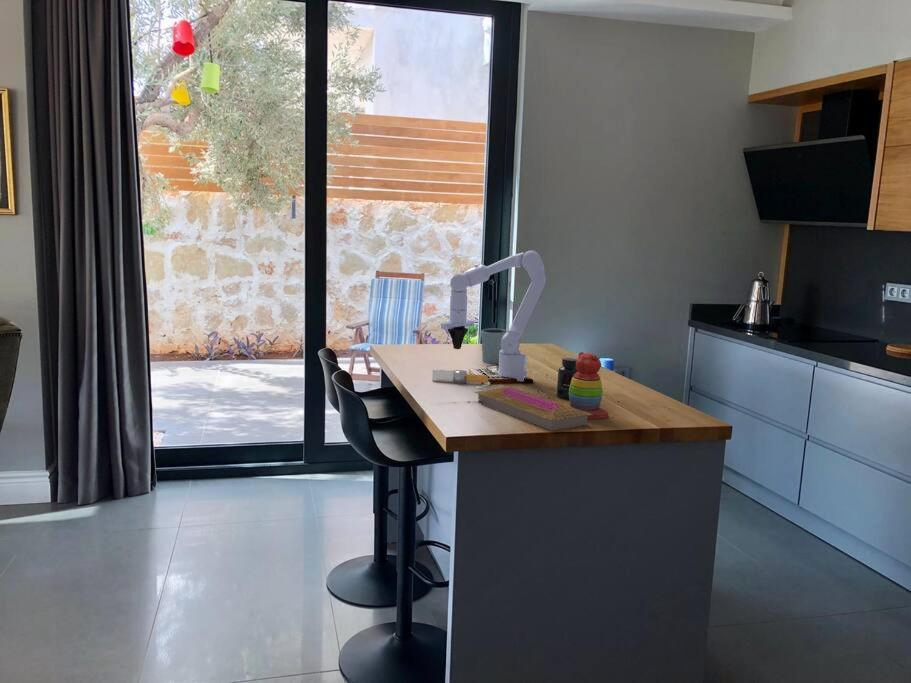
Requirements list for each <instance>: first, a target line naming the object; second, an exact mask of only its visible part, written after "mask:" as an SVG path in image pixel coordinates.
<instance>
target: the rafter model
mask: <svg viewBox="0 0 911 683" xmlns="http://www.w3.org/2000/svg"><path fill="white" fill-rule="evenodd" d="M474 394H477V395H478V396H477V397H478V400H477V403H478V404H480V403H481V405H484V406H485V407H489V408H491V409H493V408H494V410H496V409H497V411H498V410H500V411H499V412H501V411H502V412H501V413H504V412H505V414H506V413H507V414H506V415H509V414H510V415H509V416H511V415H512V416H511V417H514V416H515V418H517V417H518V418H517V419H519V418H520V419H519V420H522V419H523V420H522V421H524V420H525V422H527V421H528V422H527V423H530V422H531V423H530V424H532V423H533V425H535V424H536V425H535V426H537V425H538V427H540V426H541V427H540V428H542V427H544V428H543V429H545V428H546V430H548V429H549V430H548V431H550V430H553V431H558V430H557V429H559V430H563V428H565V429H571V428H575V427H576V426H578V427H583V426H582V425H584V426H587V425H588V419H587V417H588V415H592V414H590V413H588V414H587V412H584V411H582V412H583V413H582V412H581V410H578V409H575V408H572V407H571V406H570V405H566V404H563V403H561V402H557V401H554V400H551V399H548V398H545V397H542V396H540V395H537V394H534V393H533V394H532V393H530V392H527V391H524V390H522V389H519V388H516V387H512V386H510V385H508V386H503V387H502V386H501V387H497V388H491V389H490V388H489V389H485V390H480V391H479V390H478V391H474ZM571 408H572V409H571ZM575 410H578V411H579V412H578V411H575ZM570 427H571V428H570Z"/></svg>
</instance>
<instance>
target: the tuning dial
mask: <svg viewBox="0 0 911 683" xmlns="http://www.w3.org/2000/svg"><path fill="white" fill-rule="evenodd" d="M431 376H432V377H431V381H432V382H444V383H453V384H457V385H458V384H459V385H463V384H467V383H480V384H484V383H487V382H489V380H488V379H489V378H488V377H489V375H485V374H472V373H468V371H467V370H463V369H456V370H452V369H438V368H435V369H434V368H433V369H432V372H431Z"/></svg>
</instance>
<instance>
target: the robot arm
mask: <svg viewBox="0 0 911 683" xmlns="http://www.w3.org/2000/svg"><path fill="white" fill-rule="evenodd" d="M521 267H523V269H525V271H526V272H527V273H528V276H529V277H530V278H529V279H530V280H531V282H530V284H529V286H528V288H527V291H526V293H525V295H524V296H523V299H522V301H521V303H520V306H519V308H518V310H517V312H516V314H515V316H514V319H513V320H512V323H511V325H510V326H509V328H508V330H507V332H506V333H505V334H504V335H503V337H502V341H501V348H502V350H500V353H499V364H498V376H499V375H500V377H502V376H503V377H504V378H513V379H514V378H516V379H517V380H516V381H518V382H524V381H525V380H524V378H525V377H526V378H527V374H528V372H527V369H528V368H527V367H528V366H527V365H528V356H527V354H526V353H525V354H524V353H522V352H521V350H520V345H521V343H520V342H521V337H522V336H523V333H524V330H525V328H526V326H527V324H528V321H529V320H530V318H531V315H532V313H533V311H534V309H535V307H536V304H537V303H538V301H539V298H540V296H541V294H542V292H543V290H544V288H545V286H546V283H547V276H546V272H545V265H544V261H543V259H542V257H541V255H540V253H538V252H537V251H536V250H531V249H530V250H527V251H525V252H519V253H516V254H512V255H510V256H508V257H506V258H503V259H500V260H498V261H497V262H494V263H492V264H490V265H487V266H486V265H484V264H478V263H476V264H474V267H472V268H469V269H467V270H465V269H463V270H461V273H457V274H455V275H453V276H452V278H450V287H451V289H450V301H449V302H450V303H449V320H448V321H446V322H442V323H441V324H440V330H442V331H443V330H444V331H446V330H447V332H448V334H449V336H450V339H451V341H452V346H453V349H454V350H461V348H462V344H463V342H464V338H466V335H467V333H468V332H469V328H468V327H475V320H472V319H471V320H468V316H467V314H468V313H467V312H468V295H467V294H468V289H467V288H468V287H469V288H473V287H474V286H477V285H480V284H482V283H484V282H487V281H489V279H490V276H492V275H494V274H496V273H499V272H502V271H505V270H509V269H510V268H516V269H517V268H518V269H519V268H521ZM526 378H525V379H526Z"/></svg>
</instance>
